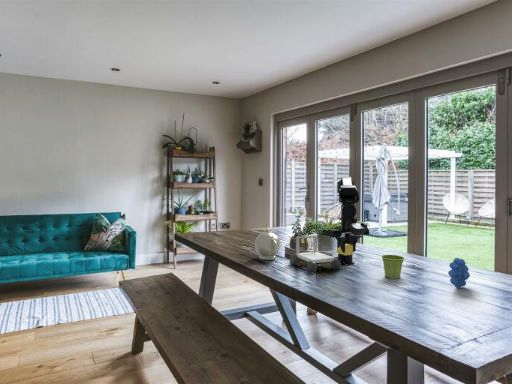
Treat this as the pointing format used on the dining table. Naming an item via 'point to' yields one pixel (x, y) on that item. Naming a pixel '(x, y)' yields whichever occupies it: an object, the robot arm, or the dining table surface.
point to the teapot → (267, 245)
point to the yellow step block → (346, 250)
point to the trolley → (313, 256)
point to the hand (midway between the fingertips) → (347, 252)
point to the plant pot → (392, 265)
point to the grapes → (458, 273)
